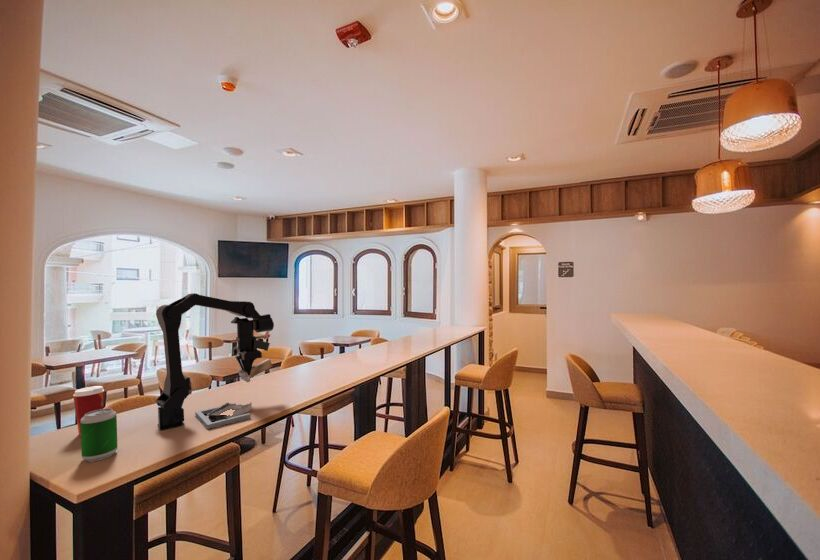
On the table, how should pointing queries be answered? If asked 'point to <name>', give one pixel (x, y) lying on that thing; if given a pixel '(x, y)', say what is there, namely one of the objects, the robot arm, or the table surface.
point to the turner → (255, 370)
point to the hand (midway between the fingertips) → (247, 374)
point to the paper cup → (87, 402)
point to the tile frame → (210, 424)
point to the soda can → (98, 434)
